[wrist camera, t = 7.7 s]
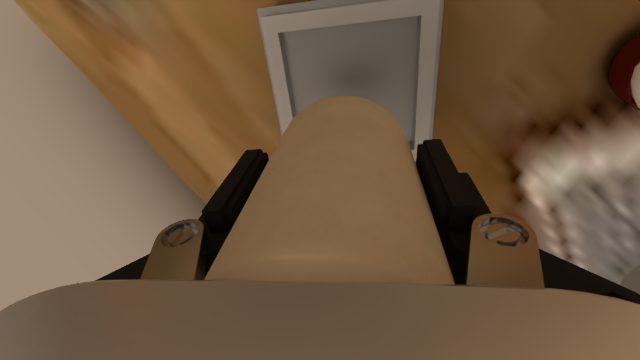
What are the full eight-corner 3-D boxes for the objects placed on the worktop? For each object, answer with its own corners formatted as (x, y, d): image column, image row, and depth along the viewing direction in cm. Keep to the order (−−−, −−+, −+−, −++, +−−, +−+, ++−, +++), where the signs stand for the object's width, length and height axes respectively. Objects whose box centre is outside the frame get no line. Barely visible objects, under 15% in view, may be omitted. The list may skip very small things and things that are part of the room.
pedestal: (429, -16, 22) (450, -18, 17) (420, 134, 28) (433, 165, 23) (274, 6, 24) (250, 9, 19) (297, 141, 30) (284, 172, 25)
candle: (413, 198, 14) (497, 515, 5) (301, 211, 15) (226, 490, 7) (401, 79, 11) (533, 348, 3) (265, 108, 12) (61, 356, 4)
